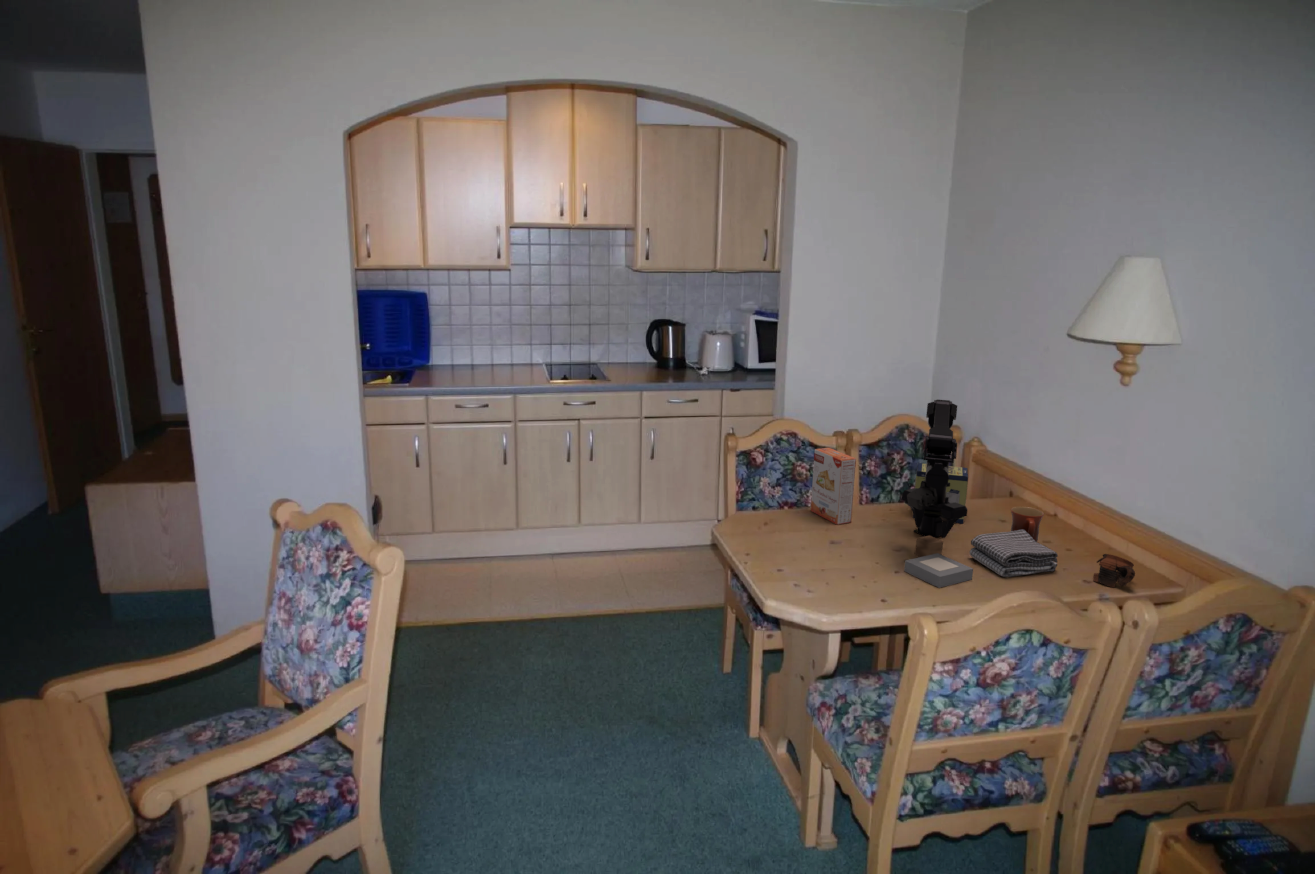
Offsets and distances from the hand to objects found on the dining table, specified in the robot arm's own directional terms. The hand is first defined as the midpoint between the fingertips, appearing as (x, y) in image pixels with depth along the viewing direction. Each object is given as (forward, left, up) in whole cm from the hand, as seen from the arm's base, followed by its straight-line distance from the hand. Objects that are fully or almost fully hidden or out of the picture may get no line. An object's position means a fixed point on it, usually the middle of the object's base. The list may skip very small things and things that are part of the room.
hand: (930, 532), depth 234 cm
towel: (+15, +16, -8) cm, 23 cm away
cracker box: (-38, -3, -7) cm, 38 cm away
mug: (+7, +31, -7) cm, 33 cm away
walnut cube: (0, 0, -7) cm, 7 cm away
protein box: (-24, +29, -7) cm, 38 cm away
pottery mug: (+35, +30, -7) cm, 47 cm away
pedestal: (+11, -8, -7) cm, 15 cm away
